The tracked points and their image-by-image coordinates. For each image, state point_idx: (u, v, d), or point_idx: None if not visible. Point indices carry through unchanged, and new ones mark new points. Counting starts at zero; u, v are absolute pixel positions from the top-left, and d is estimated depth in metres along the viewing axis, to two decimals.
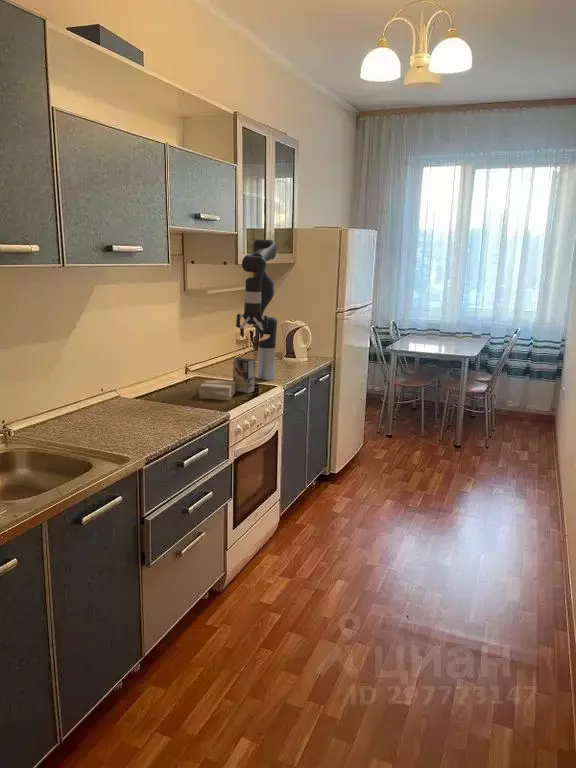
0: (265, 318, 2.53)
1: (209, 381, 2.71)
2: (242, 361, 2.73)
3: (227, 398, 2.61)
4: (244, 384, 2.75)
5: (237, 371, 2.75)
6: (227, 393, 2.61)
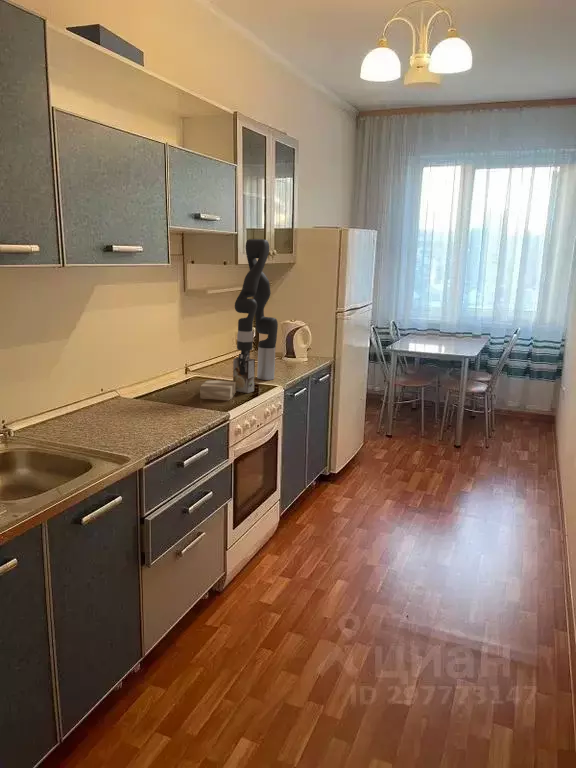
0: (249, 352, 2.81)
1: (210, 381, 2.71)
2: None
3: (228, 398, 2.61)
4: (244, 384, 2.75)
5: (237, 371, 2.75)
6: (228, 393, 2.60)
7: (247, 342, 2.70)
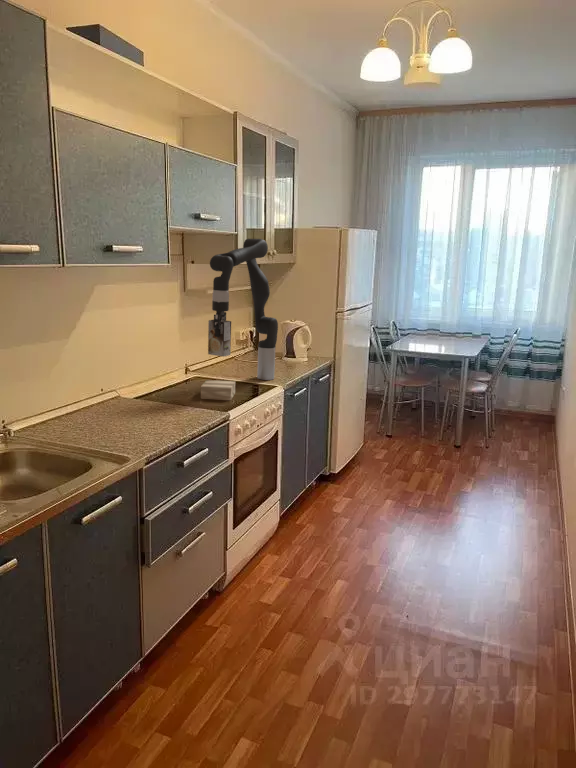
0: (225, 314, 2.66)
1: (209, 381, 2.70)
2: None
3: (229, 398, 2.61)
4: (219, 347, 2.60)
5: (212, 333, 2.60)
6: (229, 393, 2.61)
7: (223, 302, 2.56)
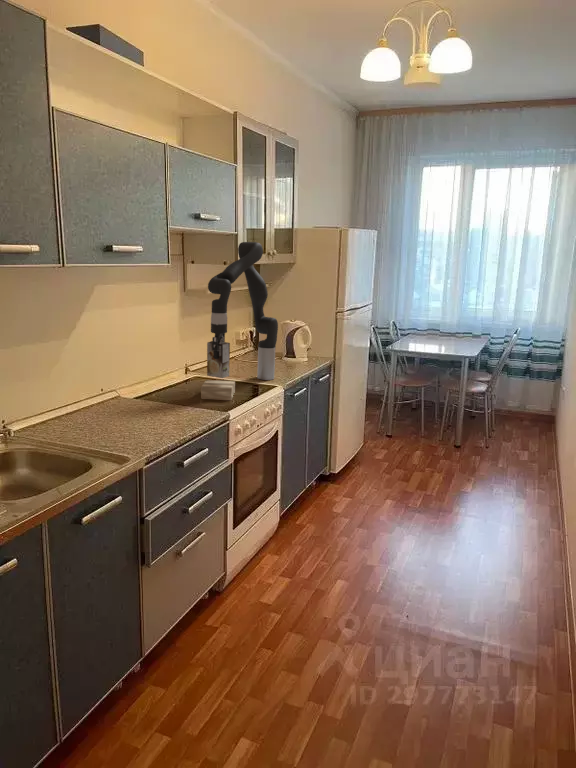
0: (224, 335, 2.68)
1: (209, 381, 2.70)
2: None
3: (230, 398, 2.62)
4: (218, 369, 2.62)
5: (211, 355, 2.63)
6: (230, 393, 2.61)
7: (221, 324, 2.58)
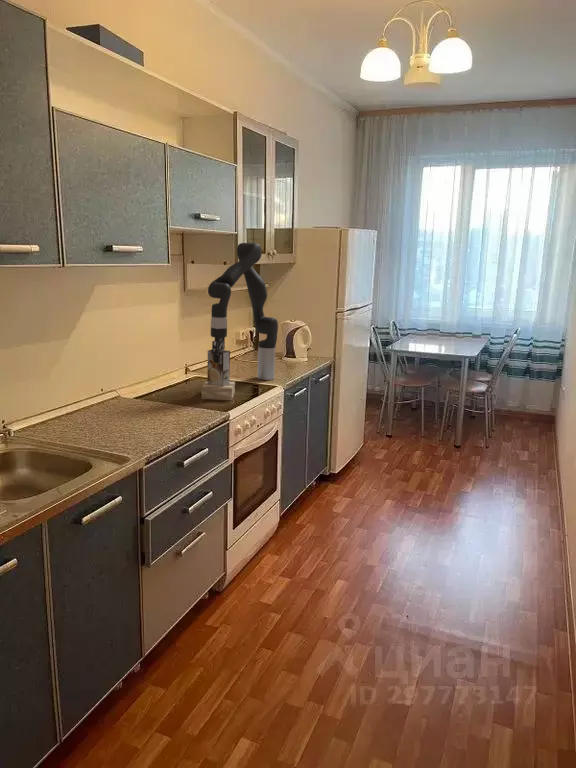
0: (224, 339, 2.69)
1: None
2: None
3: (230, 398, 2.62)
4: (219, 377, 2.63)
5: (212, 363, 2.63)
6: (230, 393, 2.61)
7: (221, 329, 2.58)
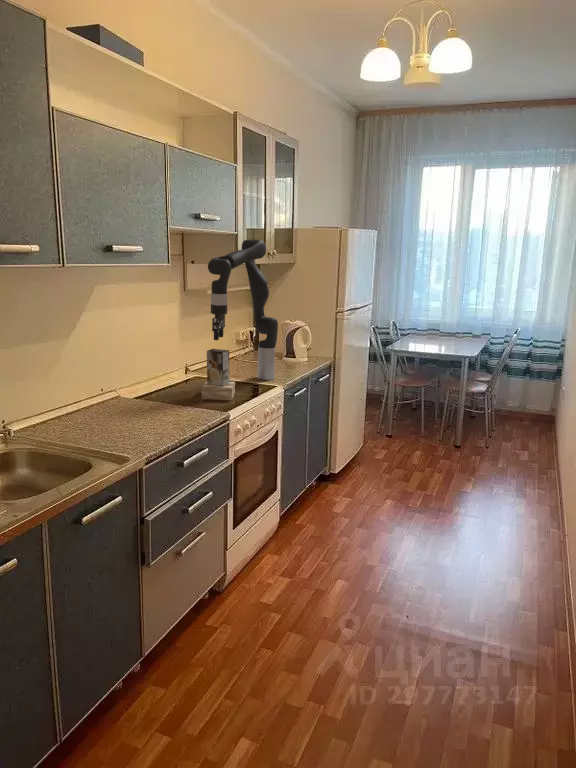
0: (224, 317, 2.66)
1: None
2: (216, 352, 2.61)
3: (230, 398, 2.61)
4: (218, 377, 2.63)
5: (211, 363, 2.63)
6: (230, 393, 2.61)
7: (221, 305, 2.56)
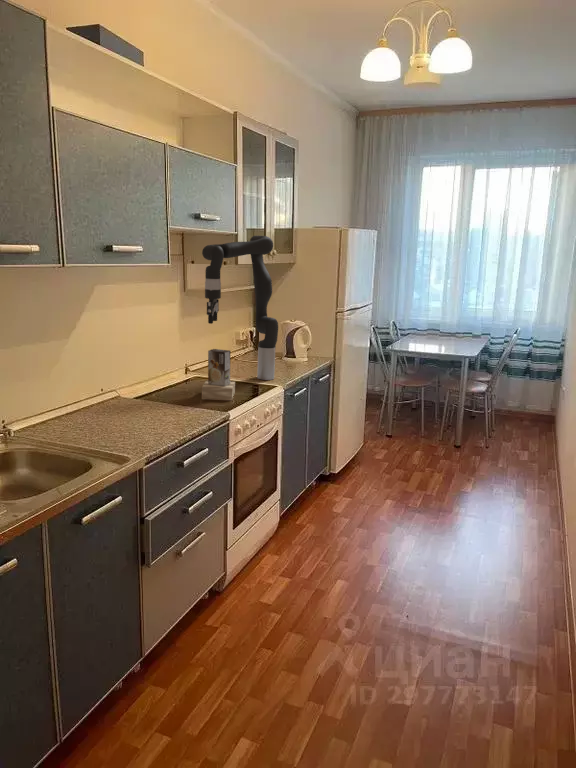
0: (218, 301, 2.77)
1: None
2: (218, 352, 2.61)
3: (230, 398, 2.61)
4: (220, 377, 2.63)
5: (213, 363, 2.63)
6: (230, 393, 2.61)
7: (215, 290, 2.66)
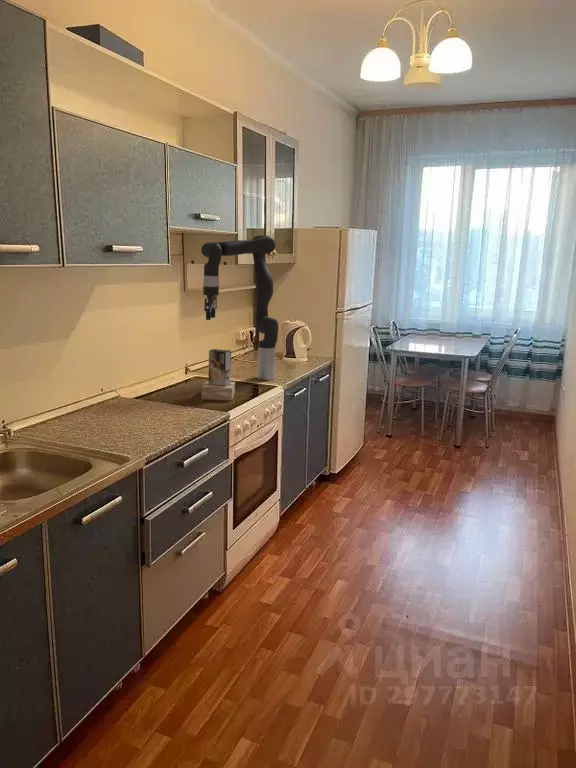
0: (216, 299, 2.80)
1: None
2: (219, 352, 2.61)
3: (230, 399, 2.61)
4: (220, 377, 2.63)
5: (213, 363, 2.63)
6: (230, 394, 2.61)
7: (213, 287, 2.69)
